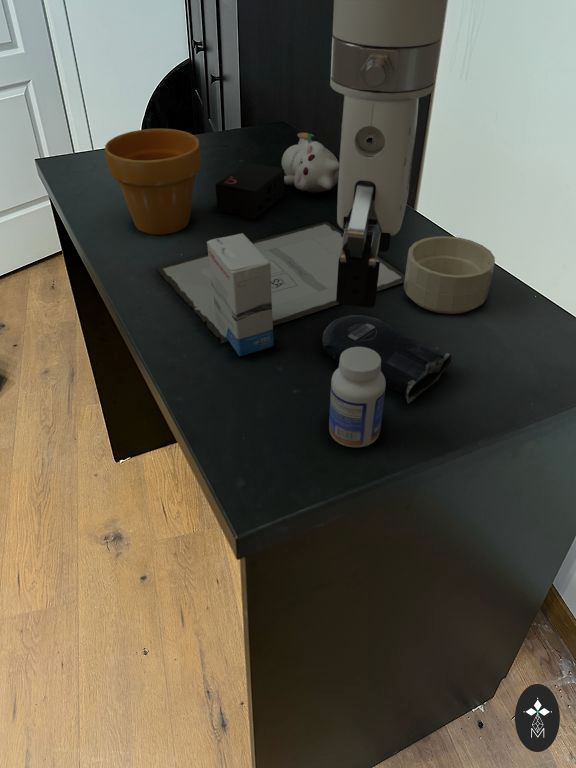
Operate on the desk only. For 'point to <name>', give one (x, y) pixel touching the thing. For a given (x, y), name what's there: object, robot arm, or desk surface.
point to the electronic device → (250, 190)
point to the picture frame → (279, 275)
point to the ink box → (241, 293)
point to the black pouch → (387, 352)
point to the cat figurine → (310, 166)
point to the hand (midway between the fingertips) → (364, 274)
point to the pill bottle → (357, 398)
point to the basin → (448, 274)
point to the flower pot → (156, 176)
